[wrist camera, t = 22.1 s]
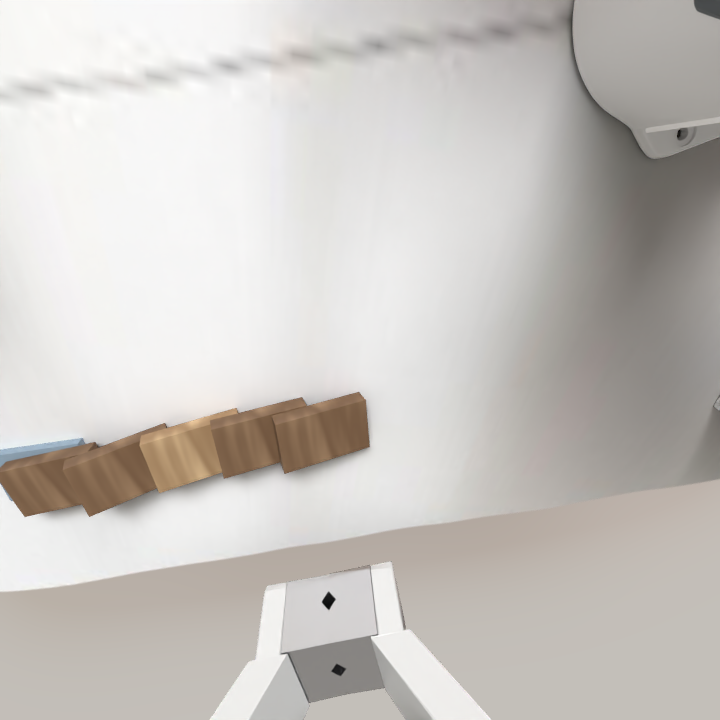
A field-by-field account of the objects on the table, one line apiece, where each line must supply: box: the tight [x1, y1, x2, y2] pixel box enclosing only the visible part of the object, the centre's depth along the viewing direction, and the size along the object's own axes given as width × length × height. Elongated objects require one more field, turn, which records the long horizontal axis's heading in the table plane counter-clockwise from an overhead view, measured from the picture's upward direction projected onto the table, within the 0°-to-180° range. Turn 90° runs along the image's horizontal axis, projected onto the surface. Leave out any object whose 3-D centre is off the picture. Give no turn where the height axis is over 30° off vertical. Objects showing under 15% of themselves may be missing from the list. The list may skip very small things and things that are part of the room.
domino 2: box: [0, 442, 98, 517], centre depth 38 cm, size 2×5×8 cm
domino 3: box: [62, 423, 167, 517], centre depth 37 cm, size 2×5×8 cm
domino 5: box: [210, 397, 307, 478], centre depth 37 cm, size 2×5×8 cm
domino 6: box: [271, 392, 370, 474], centre depth 38 cm, size 2×5×8 cm
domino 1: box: [0, 438, 85, 501], centre depth 39 cm, size 2×5×8 cm
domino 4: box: [139, 408, 238, 493], centre depth 37 cm, size 2×5×8 cm
